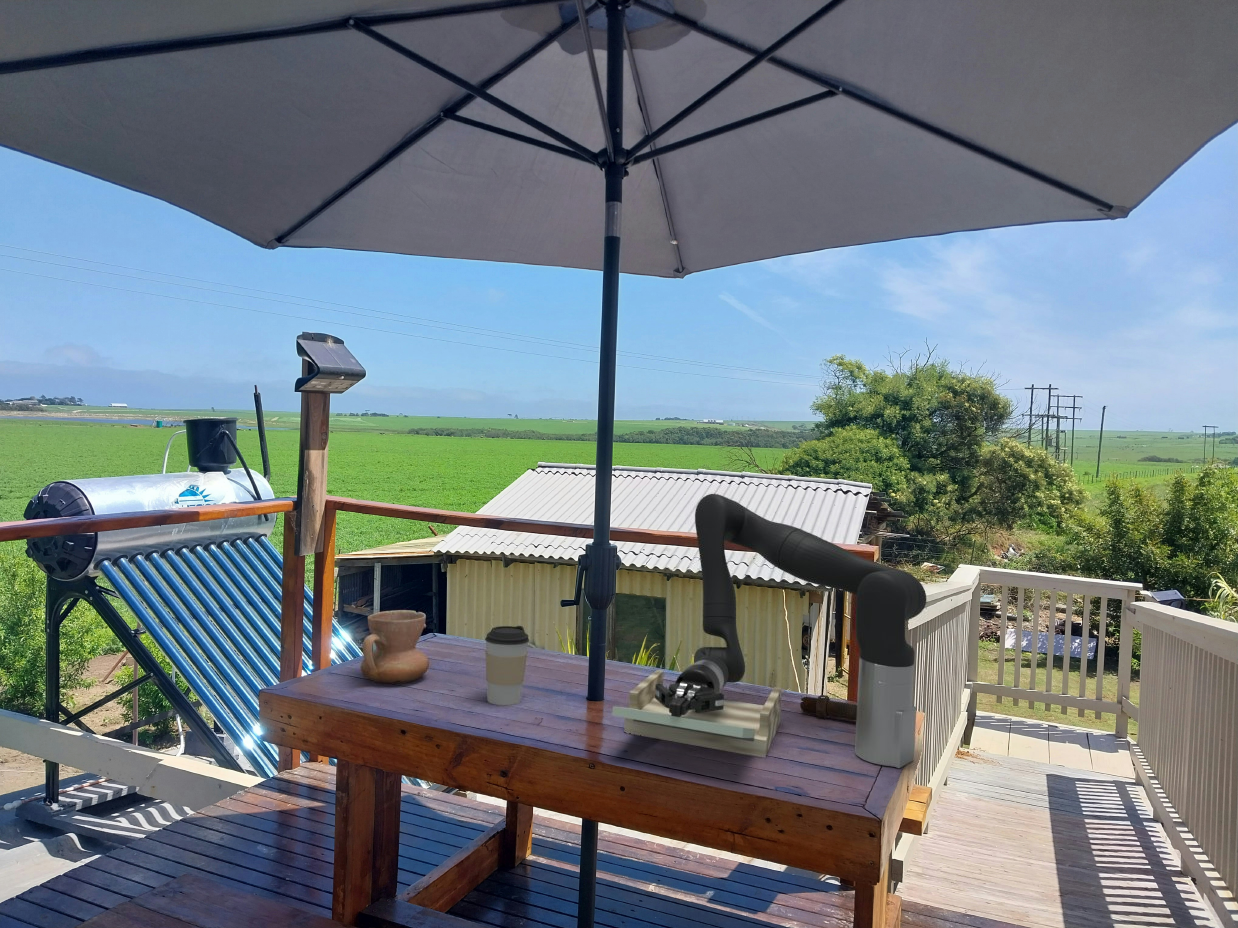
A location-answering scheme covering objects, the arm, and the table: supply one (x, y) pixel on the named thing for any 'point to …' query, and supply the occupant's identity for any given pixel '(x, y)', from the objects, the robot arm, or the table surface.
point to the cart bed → (732, 714)
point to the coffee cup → (505, 664)
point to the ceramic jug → (394, 647)
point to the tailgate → (686, 723)
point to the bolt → (828, 708)
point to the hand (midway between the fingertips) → (675, 710)
